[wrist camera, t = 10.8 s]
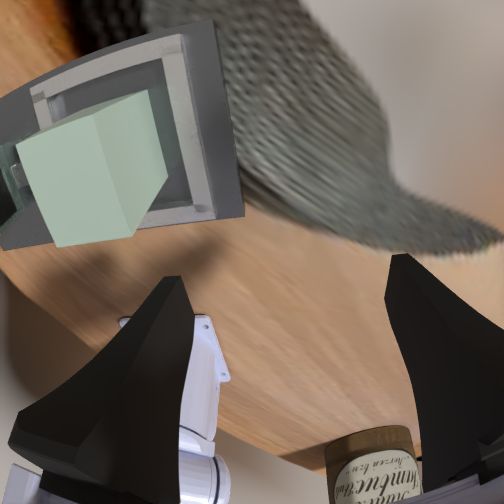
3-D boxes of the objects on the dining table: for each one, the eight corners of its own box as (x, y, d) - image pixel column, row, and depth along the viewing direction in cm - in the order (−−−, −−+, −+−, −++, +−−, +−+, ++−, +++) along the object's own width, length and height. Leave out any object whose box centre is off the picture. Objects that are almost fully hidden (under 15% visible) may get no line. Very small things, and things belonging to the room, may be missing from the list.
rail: (215, 20, 13) (185, 0, 7) (245, 208, 19) (239, 288, 13) (-37, 125, 14) (-101, 164, 9) (9, 244, 21) (-36, 300, 15)
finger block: (147, 89, 14) (92, 114, 9) (168, 176, 17) (132, 237, 12) (76, 111, 14) (9, 147, 9) (100, 189, 17) (51, 248, 12)
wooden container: (417, 416, 38) (442, 543, 20) (401, 445, 47) (416, 544, 29) (323, 436, 40) (332, 570, 23) (325, 460, 49) (331, 563, 31)
